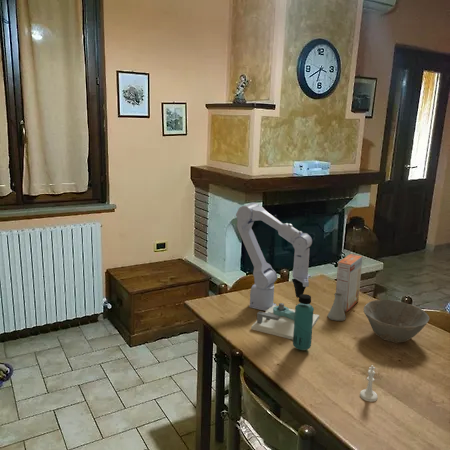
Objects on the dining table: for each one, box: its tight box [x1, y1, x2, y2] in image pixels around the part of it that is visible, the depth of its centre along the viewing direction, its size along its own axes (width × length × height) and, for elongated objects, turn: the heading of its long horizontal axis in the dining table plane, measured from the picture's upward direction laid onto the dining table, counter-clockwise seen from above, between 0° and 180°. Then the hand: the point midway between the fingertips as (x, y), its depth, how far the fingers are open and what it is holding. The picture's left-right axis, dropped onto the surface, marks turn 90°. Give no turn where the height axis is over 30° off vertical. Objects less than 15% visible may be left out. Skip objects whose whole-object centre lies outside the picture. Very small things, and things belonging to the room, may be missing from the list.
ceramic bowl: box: [363, 299, 430, 343], centre depth 162 cm, size 22×23×10 cm
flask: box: [327, 292, 347, 322], centre depth 176 cm, size 7×7×10 cm
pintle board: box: [250, 302, 320, 341], centre depth 171 cm, size 20×22×5 cm
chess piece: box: [359, 364, 378, 403], centre depth 127 cm, size 5×5×10 cm
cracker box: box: [335, 253, 363, 313], centre depth 187 cm, size 14×6×21 cm, turn 144°
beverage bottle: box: [292, 293, 315, 351], centre depth 150 cm, size 6×7×20 cm
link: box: [273, 305, 313, 324], centre depth 173 cm, size 17×6×2 cm, turn 45°
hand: (299, 297), depth 176 cm, fingers closed
